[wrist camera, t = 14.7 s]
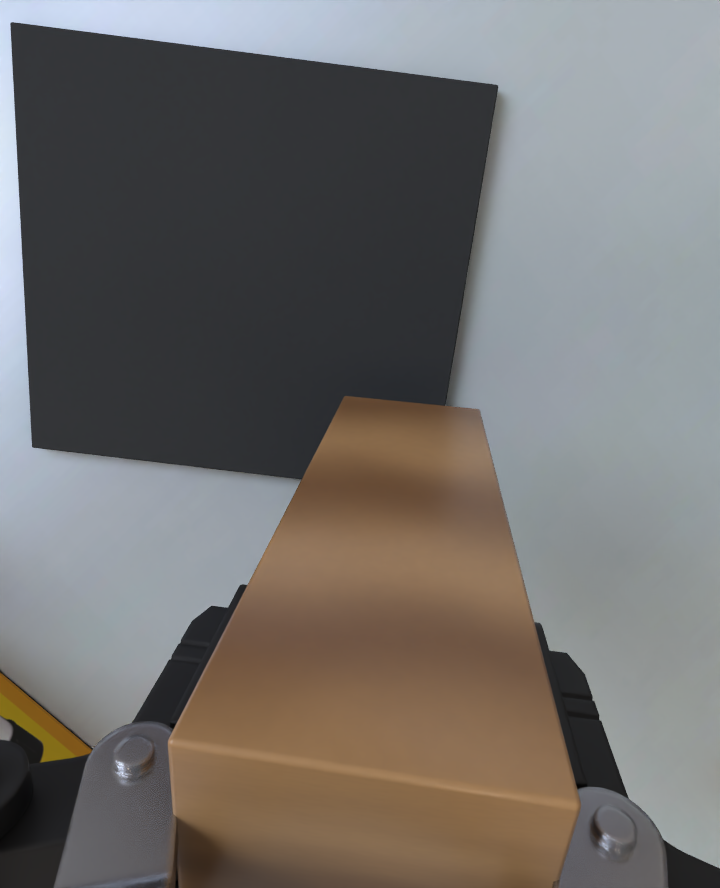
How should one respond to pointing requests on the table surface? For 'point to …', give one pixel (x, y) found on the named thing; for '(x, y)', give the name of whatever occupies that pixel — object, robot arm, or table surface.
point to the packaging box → (35, 727)
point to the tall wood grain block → (379, 683)
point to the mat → (234, 244)
